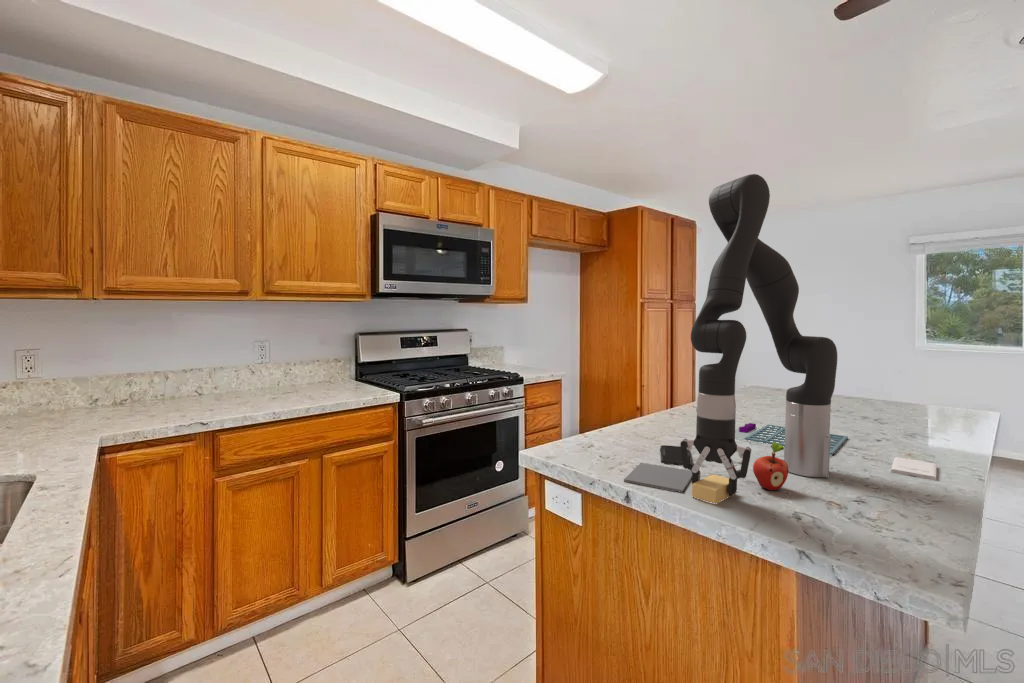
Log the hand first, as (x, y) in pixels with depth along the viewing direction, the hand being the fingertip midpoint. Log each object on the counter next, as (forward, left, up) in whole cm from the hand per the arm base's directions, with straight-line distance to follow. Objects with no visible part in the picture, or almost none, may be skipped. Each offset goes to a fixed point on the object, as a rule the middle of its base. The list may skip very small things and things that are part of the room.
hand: (713, 491), depth 99 cm
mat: (+12, -5, -1) cm, 13 cm away
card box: (0, 0, -1) cm, 1 cm away
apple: (-10, -11, -1) cm, 15 cm away
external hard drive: (-40, -43, -2) cm, 59 cm away
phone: (+13, -24, -1) cm, 27 cm away
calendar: (-12, -60, -2) cm, 61 cm away
